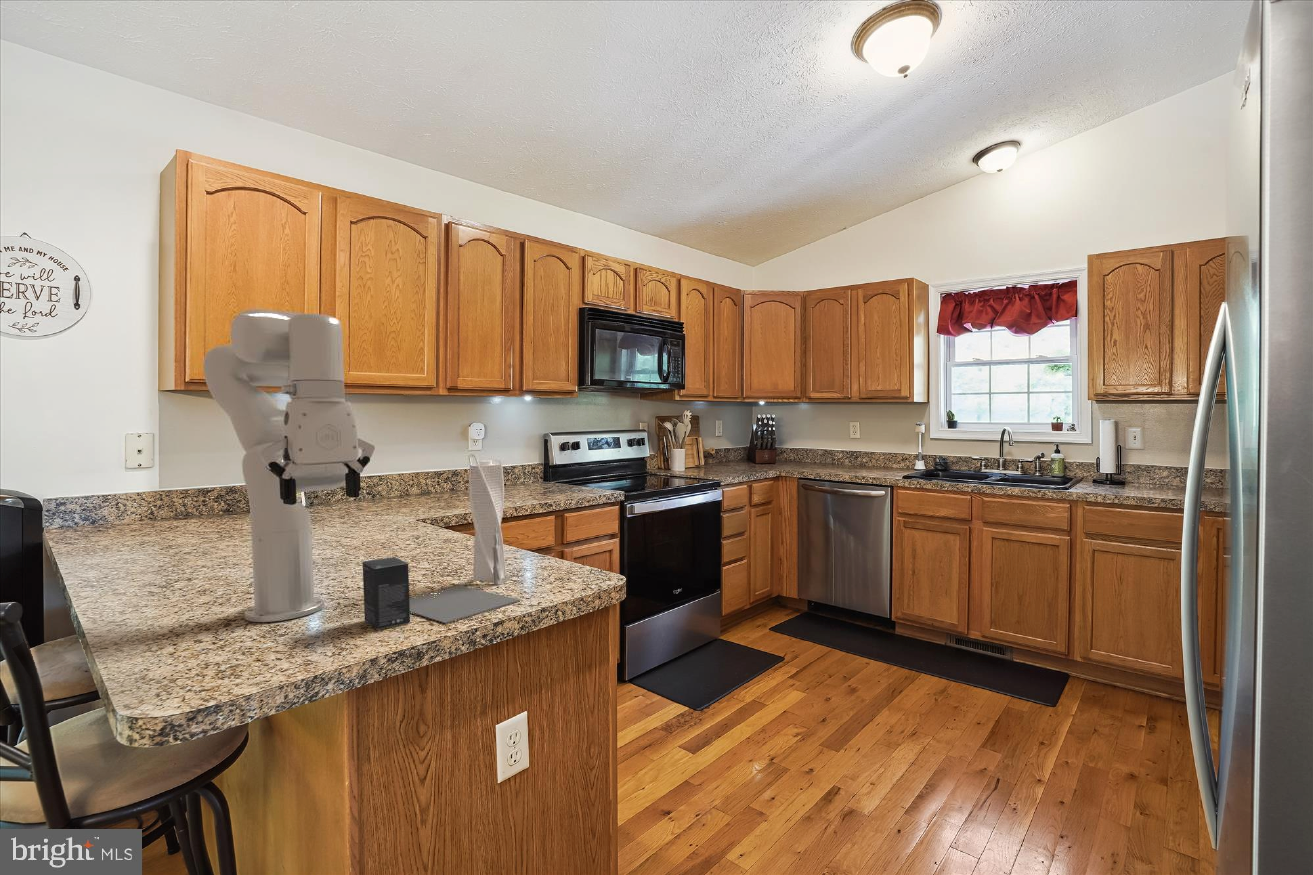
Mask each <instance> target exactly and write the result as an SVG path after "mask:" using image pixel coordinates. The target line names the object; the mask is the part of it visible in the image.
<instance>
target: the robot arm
mask: <svg viewBox="0 0 1313 875" xmlns="http://www.w3.org/2000/svg"><path fill="white" fill-rule="evenodd" d="M229 335H230V343H231V344H223V345H219V346H215V347H213V348H211V349H209V350H208V351H207V353H206V354H205V355H204V358H203V362H202V363H203V365H202V366H203V368H202V369H203V376H204V380H205V382H206V386H207V388H208V390H209V393H210V394H211V396H212V397H213V399H214V401H215V402H216V403H217V404H218V406H219V407H221V409H222V410H223V411H224V412H225V413H226V414H227V416H228V417H229V419H230V422H231V424H232V427H233V429H234V432H235V434H236V436H237V438H238V441H239V443H240V445H241V447H242V449H243V450H244V451H245V453H244V455H243V456H242V462H241V464H242V465H241V467H242V468H241V469H242V475H243V479H244V483H245V487H246V488H245V489H246V492H247V497H248V505H249V513H250V514H249V516H250V530H251V531H250V532H251V551H252V553H251V554H252V576H253V577H252V578H253V597H254V598H253V599H254V602H253V603H254V605H253V606H251V607H249V608H248V609H246V610H245V611H244V619H245V620H246V621H248V622H251V623H271V622H280V621H287V620H293V619H297V618H301V617H304V616H305V617H306V616H309V615H311V614H314V613H316V612H318V611H320V610H322V609H323V607H324V606H325V603H324V599H323V598H321V597H317V596H315V584H314V583H315V582H314V581H315V580H314V564H313V562H314V558H313V536H312V535H313V534H312V532H313V531H312V518H311V517H312V516H311V514H310V511H309V510H308V509H307V507H306V506H305V505H304V504H303V503H302V502H300V501H299V499H297V494H299V493H305V492H316V491H327V490H334V489H338V488H340V487H342V486H344V485H345V497H347V498H359V497H360V492H361V474H362V473H363V472H364V469H365V467H366V466H367V465H368V464H369V463H370V462H371V457H372V455H373V454H374V451H375V448H376V447H375V445H374V444H371V443H369V442H367V441H365V440H363V439H361V438H359V437H358V432H357V424H356V418H355V414H354V410H353V407H352V403H351V401H346V399H345V398H346V394H345V392H346V390H345V373H344V371H345V370H344V343H343V340H344V339H343V337H344V336H343V326H342V322H341V321H340V319H338V318H337V317H334V316H331V315H328V314H320V313H301V312H294V311H281V310H272V309H262V308H250V309H245V310H243V311H241V312H239V313H238V314H236V316H234V318H233V320H232V321H231V325H230V334H229ZM259 387H280V391H281V394H283V395H288V396H289V399H290V400H291V401H287V402H286V405H285V409H280V408H279V405H278V403H277V402H276V400H275V399H274V398H273V397H272V396H271V395H270V394H268V393H267V392H266V391H264V390H262V389H261V388H259ZM359 450H361V454H360V456H359V453H360V452H359Z"/></svg>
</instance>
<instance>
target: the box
mask: <svg viewBox="0 0 1313 875" xmlns="http://www.w3.org/2000/svg"><path fill="white" fill-rule="evenodd" d="M361 565H362V577H363V578H362V580H363V581H362V584H363V585H362V586H363V606H364V607H363V611H364V615H363V616H364V621H365V622H366V623H368V624H369V625H370V626H372V627H373V628H374V629H375V630H376V631H380V630H385V628H386V629H388V628H387V627H391V628H395V627H394V626H396V627H398V626H397V625H400V626H403V625H402V624H405V625H409V624H410V623H411V613H410V602H409V598H410V582H409V581H410V577H409V576H410V574H409V572H410V571H409V563H408V562H406V561H403V560H402V559H400V558H397V557H395V556H393V557H386V558H384V557H383V558H377V559H371V560H365V561H362V564H361ZM408 623H409V624H408Z"/></svg>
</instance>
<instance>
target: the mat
mask: <svg viewBox="0 0 1313 875" xmlns="http://www.w3.org/2000/svg"><path fill="white" fill-rule="evenodd" d="M459 585H460V586H459ZM459 585H458V584H457V585H455V586H450V587H451V588H449V587H446V588H444V589H445V590H442V589H439V590H437V591H439V592H434V591H430V592H427V593H428V594H427V593H423V594H419V595H414V596H409V602H410V604H412V605H410V612H412V613H414V614H413V615H415V614H418V615H420V616H419V617H421V616H424V617H426V618H425V619H427V618H430V619H433V620H436V621H435V622H437V621H439V622H438V623H440V622H442V623H441V624H443V623H445V624H444V625H447V623H448V624H450V623H449V622H451V623H454V622H453V621H455V620H458V621H460V619H461V618H464V619H466V618H465V617H468V616H471V617H474V616H475V615H474V614H477V615H480V613H481V614H484V613H486V612H490V611H493V610H497V609H500V608H503V607H506V606H510V605H513V604H516V603H519V602H521V599H517V598H515V597H509V596H505V595H502V594H498V593H493V592H491V591H490V592H489V591H486V590H482V589H478V588H473V587H469V586H464V585H461V584H459ZM442 591H443V592H442ZM429 593H437V594H429ZM439 593H440V594H439ZM423 595H424V596H423ZM427 595H428V596H427ZM429 595H431V596H429ZM434 595H435V596H434ZM436 595H437V596H436ZM411 597H412V598H411ZM414 597H416V598H414ZM434 597H435V598H434ZM483 612H484V613H483ZM418 615H417V616H418ZM473 615H474V616H473ZM424 617H423V618H424ZM468 618H469V617H468ZM430 619H429V620H430ZM433 620H432V621H433ZM461 620H462V619H461ZM455 622H456V621H455Z"/></svg>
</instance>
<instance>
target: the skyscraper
mask: <svg viewBox="0 0 1313 875" xmlns="http://www.w3.org/2000/svg"><path fill="white" fill-rule="evenodd" d="M471 457H472V458H474V460H475V463H476V464H472V458H471ZM468 463H469V474H468V476H469V478H468V486H469V487H468V489H469V492H468V494H469V505H470V511H471V517H472V518H471V519H472V522H473V523H472V524H473V526H474V531H475V533H474V543H473V545H474V547H473V570H472V571H473V573H472V576H473V577H472V582H475V581H479V582H492V583H493V582H494V584H491V585H490V586H502V585H503V584H504V582H505V583H506V582H508V581H509V580H511V579H512V578H514V576H513V575H507V567H506V566H507V565H506V557H505V555H506V554H505V549H504V541H503V540H504V539H503V534H502V529H501V525H502V524H501V523H502V520H503V513H504V505H505V504H504V503H505V485H504V483H505V481H504V469H503V468H504V467H503V463H502V462H501V460H496V459H494V460H493V461H492V460H478V458H477V457H476V456H475V455H474V454H473V453H470V454H469V455H468ZM510 578H511V579H510ZM507 580H508V581H507ZM502 583H503V584H502Z"/></svg>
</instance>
